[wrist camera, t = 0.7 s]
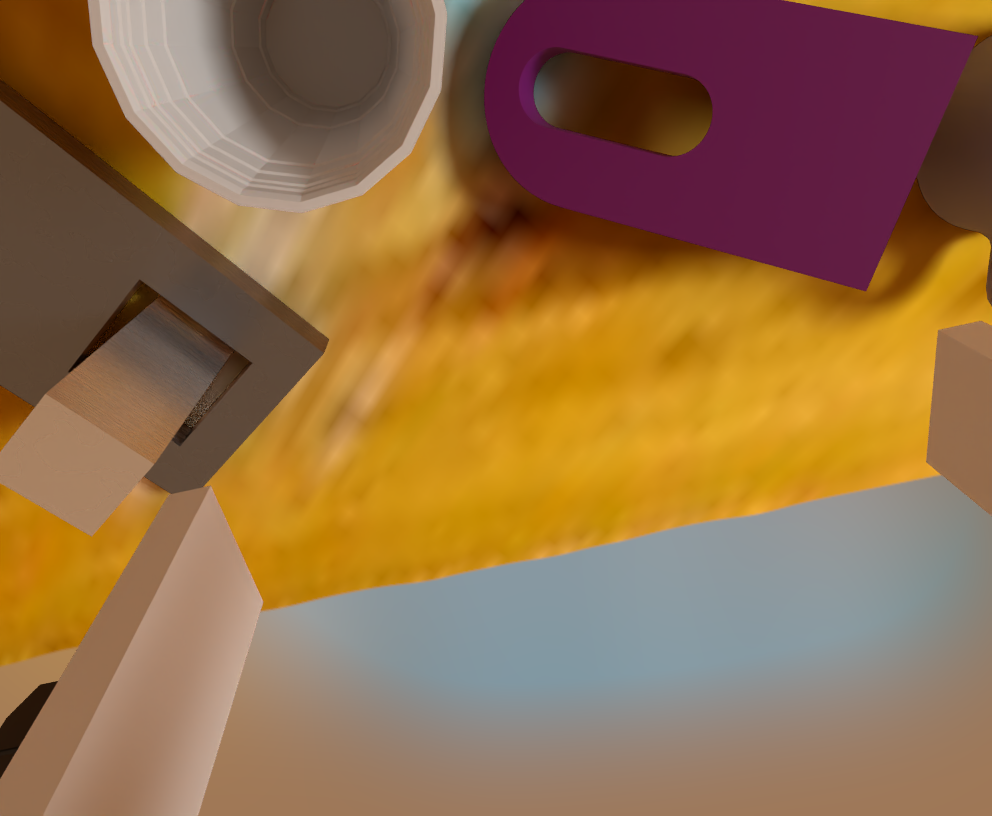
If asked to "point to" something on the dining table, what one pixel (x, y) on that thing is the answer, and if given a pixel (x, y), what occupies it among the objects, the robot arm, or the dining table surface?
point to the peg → (112, 416)
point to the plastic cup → (275, 90)
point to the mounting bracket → (739, 124)
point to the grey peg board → (125, 287)
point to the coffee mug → (964, 153)
